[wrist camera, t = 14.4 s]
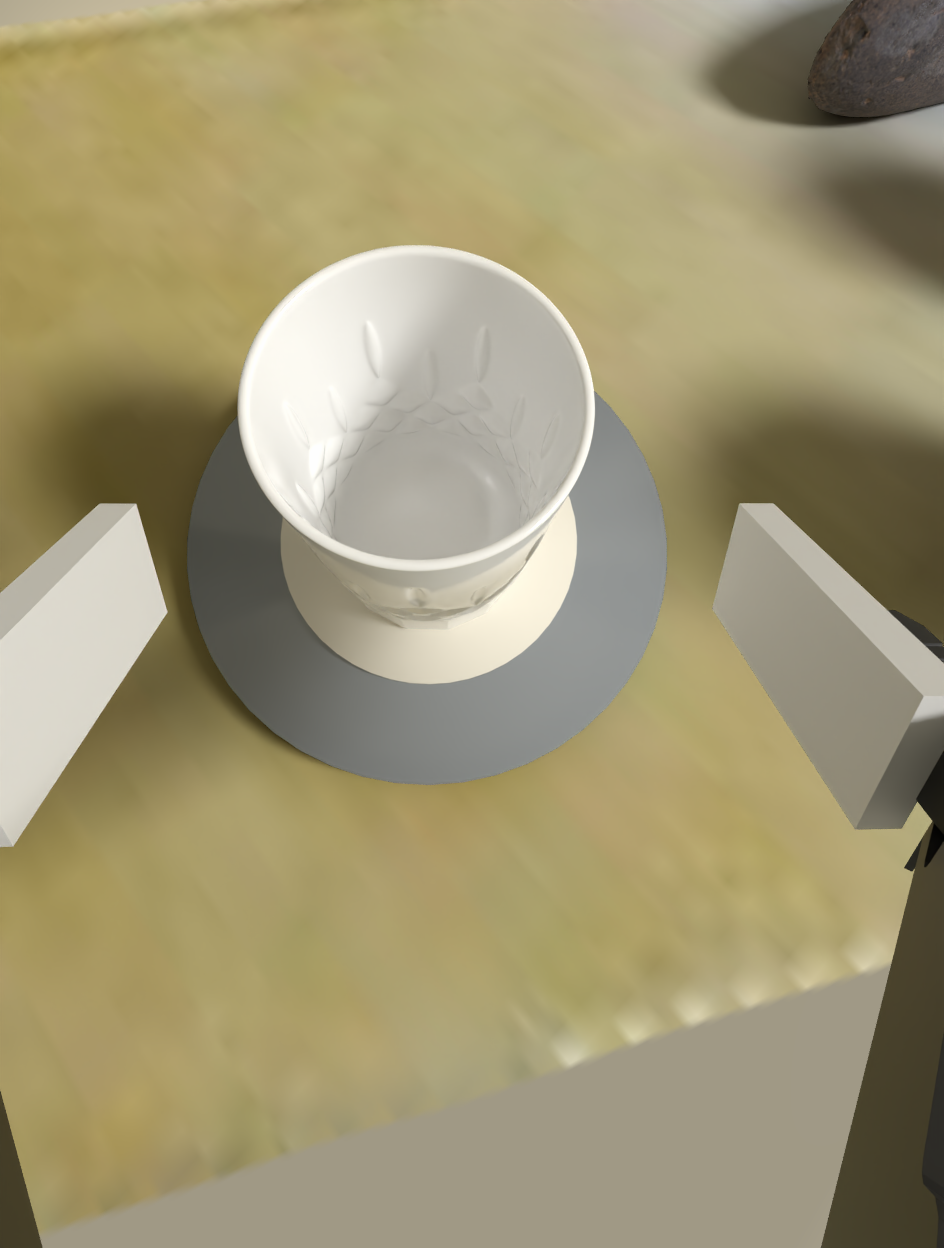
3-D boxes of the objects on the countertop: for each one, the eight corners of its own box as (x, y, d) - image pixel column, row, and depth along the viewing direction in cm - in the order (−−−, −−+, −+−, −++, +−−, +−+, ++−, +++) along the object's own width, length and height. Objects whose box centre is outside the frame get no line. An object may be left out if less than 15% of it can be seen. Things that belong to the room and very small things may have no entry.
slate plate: (101, 548, 25) (80, 535, 24) (431, 267, 28) (430, 240, 27) (430, 891, 23) (429, 900, 22) (748, 549, 26) (766, 536, 25)
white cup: (482, 415, 25) (504, 199, 15) (571, 595, 24) (657, 484, 14) (291, 491, 24) (185, 313, 15) (372, 683, 23) (316, 629, 13)
